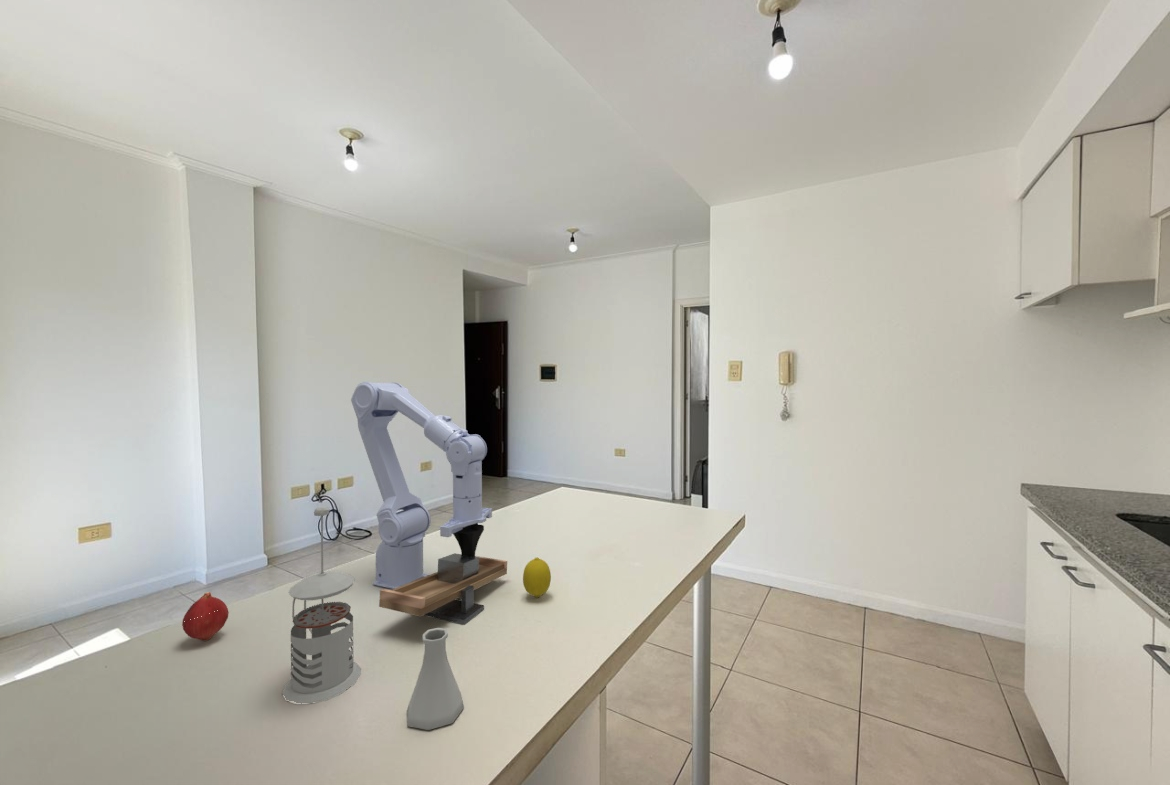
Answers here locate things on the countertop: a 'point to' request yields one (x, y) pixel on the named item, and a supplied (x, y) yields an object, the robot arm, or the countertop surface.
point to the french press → (321, 637)
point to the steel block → (457, 568)
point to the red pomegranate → (205, 617)
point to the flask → (434, 686)
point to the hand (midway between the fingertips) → (468, 561)
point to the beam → (438, 589)
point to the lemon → (536, 577)
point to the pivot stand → (458, 608)
